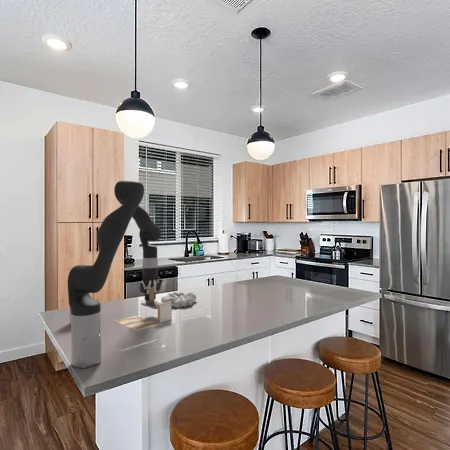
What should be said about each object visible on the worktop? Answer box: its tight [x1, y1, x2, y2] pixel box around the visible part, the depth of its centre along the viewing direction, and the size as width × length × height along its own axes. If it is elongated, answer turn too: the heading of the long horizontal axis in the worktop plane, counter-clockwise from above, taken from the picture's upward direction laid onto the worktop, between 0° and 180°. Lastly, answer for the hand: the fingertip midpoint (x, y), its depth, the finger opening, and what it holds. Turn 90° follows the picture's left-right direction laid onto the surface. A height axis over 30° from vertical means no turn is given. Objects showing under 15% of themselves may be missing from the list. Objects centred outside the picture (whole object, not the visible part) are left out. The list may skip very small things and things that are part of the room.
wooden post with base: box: [141, 286, 162, 310], centre depth 157 cm, size 12×7×9 cm, turn 47°
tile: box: [157, 302, 173, 324], centre depth 151 cm, size 2×7×9 cm, turn 136°
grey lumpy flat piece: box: [160, 291, 197, 309], centre depth 185 cm, size 22×21×6 cm
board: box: [114, 315, 160, 332], centre depth 148 cm, size 20×12×1 cm, turn 46°
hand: (150, 300), depth 159 cm, fingers closed on wooden post with base, 3 cm apart
